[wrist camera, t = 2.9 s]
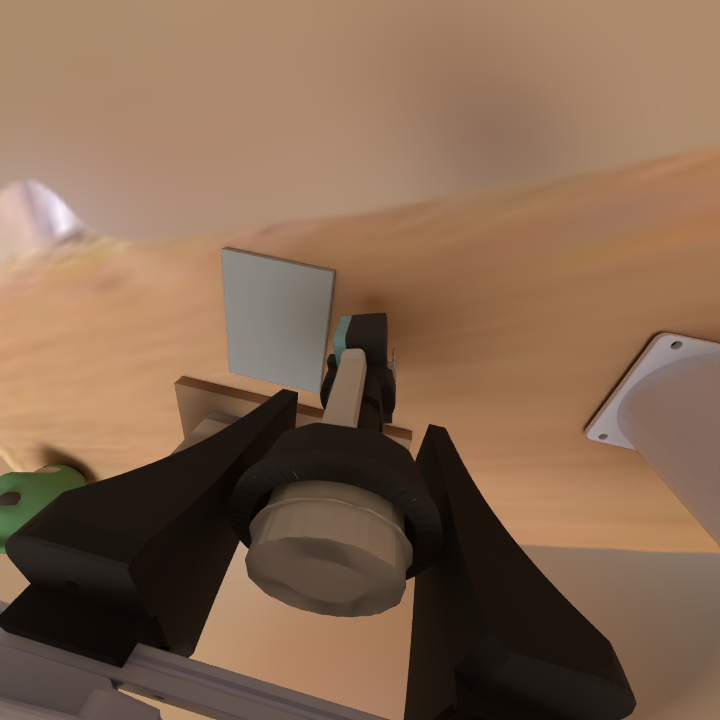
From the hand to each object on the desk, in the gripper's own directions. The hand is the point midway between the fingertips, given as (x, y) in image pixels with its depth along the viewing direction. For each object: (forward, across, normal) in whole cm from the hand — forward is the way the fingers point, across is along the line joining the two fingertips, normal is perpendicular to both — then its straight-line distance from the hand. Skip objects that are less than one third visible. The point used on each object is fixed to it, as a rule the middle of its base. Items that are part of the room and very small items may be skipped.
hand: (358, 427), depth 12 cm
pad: (+9, +7, +1) cm, 12 cm away
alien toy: (+9, +31, +25) cm, 41 cm away
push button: (+4, 0, 0) cm, 5 cm away
